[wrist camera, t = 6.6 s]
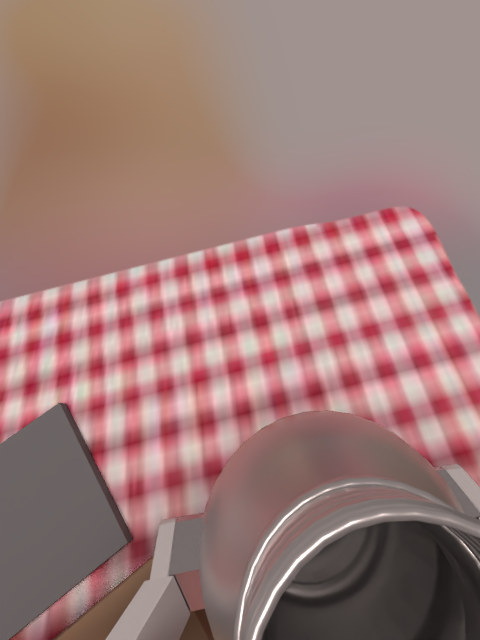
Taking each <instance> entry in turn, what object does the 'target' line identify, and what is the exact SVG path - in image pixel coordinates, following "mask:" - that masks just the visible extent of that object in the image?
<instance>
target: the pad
mask: <svg viewBox="0 0 480 640" xmlns="http://www.w3.org/2000/svg"><path fill="white" fill-rule="evenodd" d="M131 540H132V537H131V534H130V532H129V530H128V528H127V526H126V524H125V522H124V520H123V518H122V516H121V514H120V512H119V510H118V508H117V506H116V504H115V502H114V500H113V498H112V496H111V494H110V492H109V490H108V488H107V486H106V484H105V482H104V480H103V478H102V476H101V474H100V472H99V470H98V468H97V466H96V464H95V462H94V460H93V458H92V456H91V454H90V452H89V450H88V448H87V446H86V444H85V442H84V440H83V438H82V436H81V434H80V432H79V430H78V427H77V425H76V423H75V421H74V419H73V417H72V415H71V413H70V411H69V409H68V407H67V405H66V404H63V403H58V404H57V405H56V406H54V407H53V408H51V409H50V410H48V411H47V412H46V413H44V414H43V415H41V416H40V417H38V418H37V419H36V420H34V421H33V422H31V423H30V424H28V425H27V426H26V427H24V428H23V429H21V430H20V431H18V432H17V433H16V434H14V435H13V436H11V437H10V438H8V439H7V440H6V441H4V442H3V443H1V444H0V640H9V639H11V638H12V637H13V636H14V635H15V634H17V633H18V632H19V631H20V630H22V629H23V628H24V627H25V626H26V625H28V624H29V623H30V622H31V621H33V620H34V619H35V618H36V617H38V616H39V615H40V614H41V613H42V612H44V611H45V610H46V609H47V608H49V607H50V606H51V605H52V604H54V603H55V602H56V601H57V600H58V599H60V598H61V597H62V596H63V595H65V594H66V593H67V592H68V591H69V590H71V589H72V588H73V587H74V586H76V585H77V584H78V583H79V582H81V581H82V580H83V579H84V578H85V577H87V576H88V575H89V574H90V573H92V572H93V571H94V570H95V569H97V568H98V567H99V566H100V565H101V564H103V563H104V562H105V561H106V560H108V559H109V558H110V557H111V556H113V555H114V554H115V553H116V552H117V551H119V550H120V549H121V548H122V547H124V546H125V545H126V544H127V543H128V542H130V541H131Z"/></svg>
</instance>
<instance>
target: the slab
mask: <svg viewBox="0 0 480 640" xmlns="http://www.w3.org/2000/svg"><path fill="white" fill-rule="evenodd" d="M153 557H154V556H152V557H151V558H150V559H149V560H148V561H146V562H145V563H144V564H143V565H142V566H140V567H139V568H138V569H137V570H136V571H135V572H133V573H132V574H131V575H130V576H129V577H127V578H126V579H125V580H124V581H123V582H121V583H120V584H119V585H118V586H117V587H115V588H114V589H113V590H112V591H111V592H109V593H108V594H107V595H106V596H105V597H103V598H102V599H101V600H100V601H99V602H97V603H96V604H95V605H94V606H93V607H91V608H90V609H89V610H88V611H87V612H85V613H84V614H83V615H82V616H81V617H79V618H78V619H77V620H76V621H75V622H73V623H72V624H71V625H70V626H69V627H67V628H66V629H65V630H64V631H63V632H61V633H60V634H59V635H58V636H57V637H55V638H54V639H53V640H106V638H107V637H108V635H109V634H110V632H111V631H112V629H113V628H114V626H115V625H116V623H117V622H118V620H119V619H120V617H121V616H122V614H123V613H124V611H125V610H126V608H127V607H128V605H129V604H130V602H131V601H132V599H133V598H134V596H135V595H136V593H137V592H138V590H139V589H140V587H141V586H142V584H143V583H144V581H146V580H150V574H151V569H152V563H153ZM179 640H214V638H213V635H212V631H211V628H210V625H209V621H208V618H207V615H206V611H205V609H200V610H196V611H191V612H190V616H189V619H188V621H187V623H186V625H185V628H184V630H183V632H182V634H181V637H180V639H179Z"/></svg>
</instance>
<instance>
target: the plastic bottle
mask: <svg viewBox="0 0 480 640" xmlns="http://www.w3.org/2000/svg"><path fill="white" fill-rule="evenodd" d="M199 575H200V583H201V590H202V598H203V603H204V607H205V611H206V615H207V618H208V621H209V625H210V628H211V631H212V635H213V638H214V640H480V520H478V519H476V518H474V517H472V516H469V515H466V514H465V513H464V510H463V508H462V506H461V505H460V503H459V502H458V500H457V498H456V497H455V495H454V494H453V492H452V490H451V489H450V487H449V486H448V484H447V482H446V481H445V480H444V479H443V478H442V476H441V475H440V474H439V473H438V472H437V471H436V470H435V469H434V467H433V466H432V465H431V464H430V463H429V462H428V461H427V459H425V458H424V457H423V456H422V455H421V454H419V453H418V452H417V451H416V450H415V449H413V448H412V447H411V446H410V445H408V444H407V443H406V442H405V441H404V440H402V439H401V438H400V437H399V436H397V435H396V434H395V433H393V432H391V431H389V430H388V429H386V428H384V427H382V426H380V425H379V424H377V423H375V422H373V421H370V420H367V419H364V418H362V417H359V416H356V415H353V414H349V413H341V412H334V411H313V412H303V413H299V414H295V415H292V416H288V417H284V418H282V419H280V420H278V421H276V422H274V423H272V424H270V425H268V426H266V427H264V428H262V429H261V430H259V431H258V432H257V433H256V434H254V435H253V436H252V437H250V438H249V439H248V440H247V441H245V442H244V443H243V444H242V445H241V447H240V448H239V449H238V450H237V451H236V452H235V453H234V455H233V456H232V457H231V458H230V459H229V460H228V462H227V463H226V465H225V467H224V468H223V470H222V472H221V473H220V475H219V477H218V479H217V480H216V482H215V484H214V486H213V489H212V492H211V494H210V497H209V500H208V502H207V505H206V508H205V511H204V517H203V522H202V527H201V532H200V537H199Z"/></svg>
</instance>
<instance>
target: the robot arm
mask: <svg viewBox="0 0 480 640" xmlns="http://www.w3.org/2000/svg"><path fill="white" fill-rule="evenodd" d="M434 469H435V470H436V471H437V472H438V473H439V474H440V475H441V476H442V478H443V479H444V480H445V481H446V482H447V484H448V486H449V487H450V489H451V490H452V492H453V494H454V495H455V497H456V498H457V500H458V502H459V503H460V505H461V506H462V508H463V510H464V513H465V514H466V515H469V516H472V517H474V518H476V519H478V520H480V487H479V486H478V485H477V484H476V483H475V482H474V480H473V479H472V478H471V477H470V476H469V475H468V474H467V473H466V471H465V470H464V469H463V468H462V467H461V466H459V465H458V464H452V465H448V466H443V467H435V468H434ZM203 517H204V513H199V514H193V515H187V516H182V517H175V518H170V519H165V520H162V521H161V523H160V525H159V529H158V535H157V540H156V546H155V552H154V557H153V563H152V569H151V574H150V580H146V581H144V583H143V584H142V586H141V587H140V589H139V590H138V592H137V593H136V595H135V596H134V598H133V599H132V601H131V602H130V604H129V605H128V607H127V608H126V610H125V611H124V613H123V614H122V616H121V617H120V619H119V620H118V622H117V623H116V625H115V626H114V628H113V629H112V631H111V632H110V634H109V635H108V637H107V638H106V640H179V639H180V637H181V634H182V632H183V630H184V628H185V625H186V623H187V621H188V619H189V616H190V612H191V611H196V610H200V609H205V607H204V603H203V598H202V590H201V583H200V575H199V537H200V532H201V527H202V522H203Z"/></svg>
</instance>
